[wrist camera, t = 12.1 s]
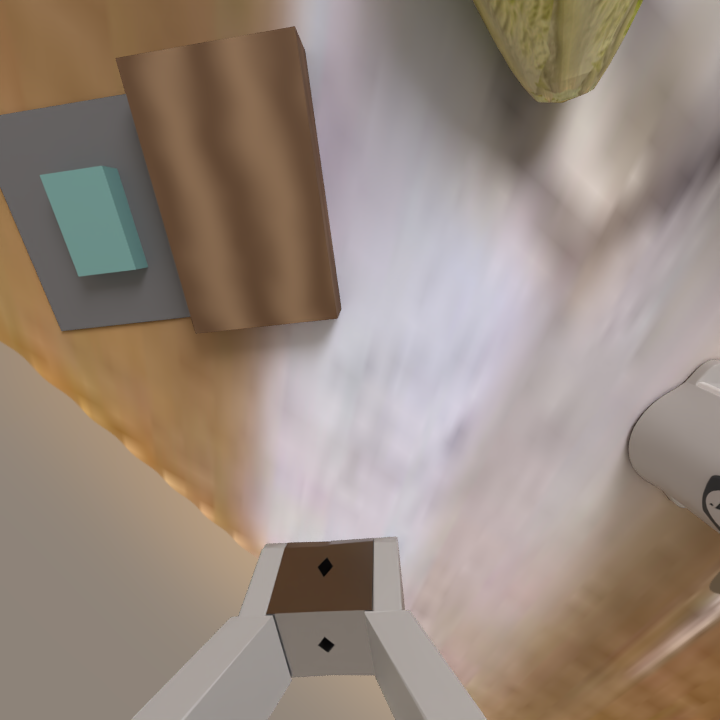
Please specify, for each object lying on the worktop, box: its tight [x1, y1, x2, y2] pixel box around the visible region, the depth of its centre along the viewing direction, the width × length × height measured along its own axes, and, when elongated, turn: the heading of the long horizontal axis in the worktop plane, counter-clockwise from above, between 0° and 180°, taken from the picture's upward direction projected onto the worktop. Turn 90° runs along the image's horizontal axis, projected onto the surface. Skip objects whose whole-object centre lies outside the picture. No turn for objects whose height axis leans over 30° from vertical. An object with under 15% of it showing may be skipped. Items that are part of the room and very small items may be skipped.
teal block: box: [40, 166, 148, 277], centre depth 35 cm, size 6×9×2 cm, turn 7°
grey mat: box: [0, 94, 191, 331], centre depth 36 cm, size 16×20×1 cm
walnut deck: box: [116, 26, 341, 334], centre depth 33 cm, size 14×22×4 cm, turn 7°
